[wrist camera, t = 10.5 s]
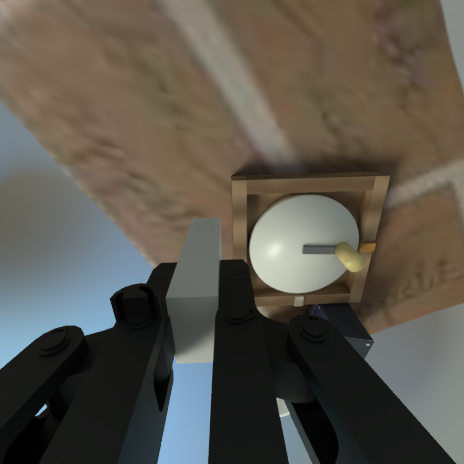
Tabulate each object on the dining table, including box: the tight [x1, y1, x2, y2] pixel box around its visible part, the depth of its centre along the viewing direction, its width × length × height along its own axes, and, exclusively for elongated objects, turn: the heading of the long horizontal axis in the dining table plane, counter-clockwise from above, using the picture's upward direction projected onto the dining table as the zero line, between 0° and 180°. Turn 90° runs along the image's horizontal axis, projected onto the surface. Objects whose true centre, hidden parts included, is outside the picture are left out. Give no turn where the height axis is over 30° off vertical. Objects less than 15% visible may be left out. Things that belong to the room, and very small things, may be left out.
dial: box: [249, 192, 366, 293], centre depth 36 cm, size 17×17×6 cm
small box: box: [307, 303, 374, 359], centre depth 43 cm, size 11×6×10 cm, turn 170°
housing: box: [231, 171, 390, 307], centre depth 39 cm, size 22×22×4 cm
